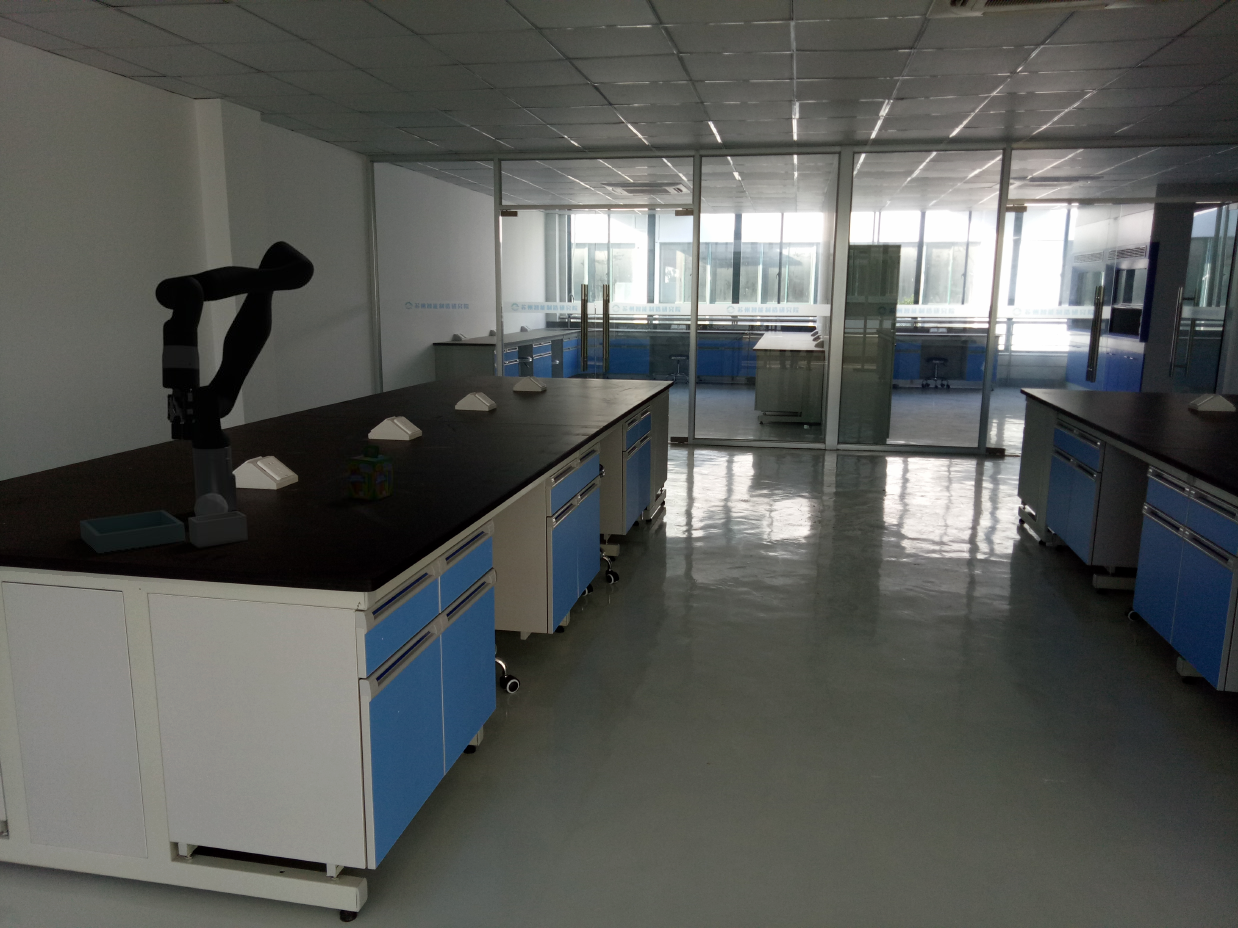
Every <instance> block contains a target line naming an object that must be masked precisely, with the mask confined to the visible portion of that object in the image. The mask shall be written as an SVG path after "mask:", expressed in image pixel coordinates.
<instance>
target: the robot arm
mask: <svg viewBox="0 0 1238 928" xmlns="http://www.w3.org/2000/svg"><path fill="white" fill-rule="evenodd" d="M314 273H315V266H314V264H313V262H312V260H310V259H309V258H308V257H307V256H306V255H304V254H303V253H302V252H301V251H299V250H298V249H296V248H295V247H294V246H293V245H292V244H289V243H288V242H286V241H284V240H281V241H280V240H279V241H276V242H274V243H273V244H271V246H269V248H268V249H267V250H266V251H265V253H264V254H263V256H262V259H261V260H260V263H259V265H258V267H257V268H256V267H247V266H240V265H239V266H238V265H229V266H221V267H216V268H212V269H208V270H204V271H202V272H198V273H194V274H193V273H192V274H187V275H181V276H176V277H169V278H164V279H162V280H161V281H160V282H159V283H158V284H157V286H156V288H155V291H154V292H155V293H154V295H155V298H156V301H157V302H158V303H159V305H160V306H162V307H163V308H165V309H168V310H171V311H172V312H171V313H172V314H171V317H170V318H169V319H168V320H166V321H165V322H163V324H162V325H163V326H162V353H161V354H162V355H161V366H162V367H161V371H162V372H161V375H162V376H161V377H162V379H161V380H162V383H161V385H162V388H164V389H171V390H172V391H171V393H167V395H166V397H167V418H166V419H167V421H169V423H170V430H171V431H170V432H171V433H170V434H171V436H170V437H171V440H173V441H175V440H176V441H177V440H178V441H181V440H183V441H191V444H192V445H191V447H192V449H191V450H192V458H193V459H192V460H193V461H192V462H193V473H194V474H193V475H194V487H195V489H194V490H195V501H196V500H197V499H199V498H200V497H201V496H202V495H206V494H209V493H214V494H218V495H221V496H222V497H223V498H224V499H225V500H226V502H227V505H228V511H227V512H233V511H238V496H237V480H236V479H237V477H236V474H234V473H233V459H232V457H233V456H232V444H231V443H232V441H231V437H230V435H229V434H228V433H227V432H226V433H225V432H224V431H223V429H222V423H221V419H223V418H225V417H227V416H228V415H230V414H231V412H232V410H233V408H234V406H235V405H236V402H237V400H238V397H239V395H240V392H241V390H242V387H243V385H244V383H245V380H246V378H247V376H248V375H249V373H250V371H251V369H252V368H253V366H254V364H255V363H256V360H257V358H258V357H259V355H260V354H261V352H262V350H263V348H264V347H265V345H266V343H267V341H268V339H269V337H270V336H271V332H272V327H273V326H272V325H273V309H272V308H273V302H272V301H273V297H274V293H275V292H281V291H282V292H283V291H292V290H293V291H295V290H299V289H301V288H304V287H305V286H306V285H307V284H309V282H311V280H312V278H313V276H314ZM240 295H246V296H245V298H244V300H243V302H242V304H241V306H240V308H239V309H238V312H237V314H236V315H235V317H234V319H233V321H232V322H231V323H230V326H229V328H228V329H227V332H226V333H225V336H224V339H223V344H222V354H221V355H222V356H221V363H220V365H219V368H218V370H217V371H216V373H215V375H214V376H213V378H212V379H211V381H210V382H209V383H208V384H207V385H206V384H205V385H202V386H201V376H200V374H201V373H200V371H201V370H200V353H199V335H198V333H199V331H198V330H199V329H198V328H199V325H200V321H201V317H202V314H203V309H204V305H205V304H204V303H205V302H216V301H220V300H224V299H228V298H232V297H236V296H240Z"/></svg>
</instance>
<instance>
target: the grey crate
mask: <svg viewBox="0 0 1238 928" xmlns="http://www.w3.org/2000/svg"><path fill="white" fill-rule="evenodd" d="M247 522H248V521H247V515H245V514H244V513H242V512H240V511H239V510H232V511H229V512H226V513H219V514H212V515H204V516H197V517H196V516H191V517H188V531H189V532H188V533H189V543H191V544H192V545H193V546H195V547H196V548H207V547H211V546H217V545H218V546H219V545H223V544H231V543H236V542H241V541H242V542H243V541H248V540H249V538H248V536H249V535H248V523H247Z"/></svg>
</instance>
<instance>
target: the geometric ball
mask: <svg viewBox="0 0 1238 928" xmlns="http://www.w3.org/2000/svg"><path fill="white" fill-rule="evenodd" d="M193 510H194V514H195V517H197V516H204V515H212V514H219V513H226V512H227V511H228V505H227V502H226V500H225V499H224V498H223V497H222V496H221V495H218V494H214V493H209V494H206V495H202V496H201V497H200V498H199V499H197V500H196V499H195V504H194V508H193Z"/></svg>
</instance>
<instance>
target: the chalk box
mask: <svg viewBox="0 0 1238 928" xmlns="http://www.w3.org/2000/svg"><path fill="white" fill-rule="evenodd" d="M370 450H373V451H374V453H373V454H372V453H369V451H370ZM363 452H364V453H363V455H358V456H354V457H349V458H348V460H347V461H348V497H349V498H351V499H358V500H365V501H366V500H367V501H373V502H375V501H377V500H381V499H384V498H386V497H391V496H393V495H394V487H393V486H394V482H393V481H394V480H393V479H394V477H393V475H394V472H393V471H394V470H393V468H394V467H393V462H394V461H393V457H392V456H389V455H382V454H380V453H379V452H380V446H379V445H374V444H373V445H370V444H366V445H365V446H364V451H363Z"/></svg>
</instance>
